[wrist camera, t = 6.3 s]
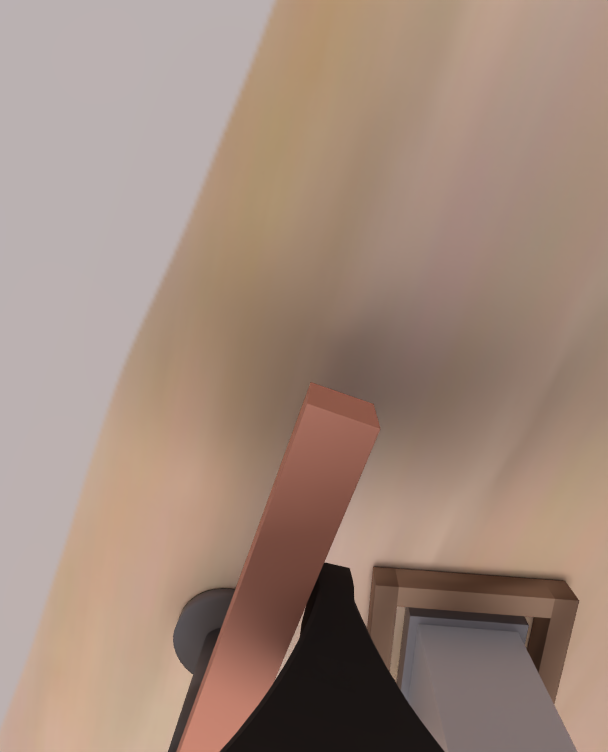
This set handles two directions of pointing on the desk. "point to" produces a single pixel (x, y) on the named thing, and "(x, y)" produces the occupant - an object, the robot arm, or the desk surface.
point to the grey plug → (477, 683)
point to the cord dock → (389, 590)
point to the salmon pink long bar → (283, 562)
